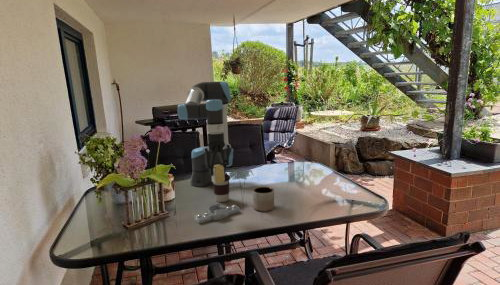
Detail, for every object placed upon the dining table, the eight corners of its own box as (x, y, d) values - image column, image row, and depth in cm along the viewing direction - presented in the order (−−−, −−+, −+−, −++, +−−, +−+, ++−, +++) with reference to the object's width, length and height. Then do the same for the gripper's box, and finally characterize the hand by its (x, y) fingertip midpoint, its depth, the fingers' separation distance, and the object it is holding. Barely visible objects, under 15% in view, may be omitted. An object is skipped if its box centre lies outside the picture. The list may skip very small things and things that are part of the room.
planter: (259, 213, 156) (259, 195, 154) (249, 206, 165) (249, 188, 163) (278, 209, 161) (278, 190, 159) (267, 202, 170) (267, 185, 168)
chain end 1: (193, 218, 152) (192, 210, 151) (214, 213, 158) (213, 204, 157) (200, 224, 145) (199, 215, 144) (221, 218, 151) (221, 209, 150)
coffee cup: (233, 197, 179) (232, 171, 176) (226, 204, 169) (225, 177, 167) (217, 196, 182) (216, 170, 179) (210, 202, 173) (208, 175, 170)
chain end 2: (214, 213, 158) (213, 204, 157) (233, 208, 163) (232, 199, 163) (221, 218, 151) (221, 209, 150) (241, 213, 157) (240, 204, 156)
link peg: (212, 181, 153) (211, 165, 152) (220, 180, 155) (219, 164, 154) (216, 183, 150) (215, 166, 148) (224, 181, 152) (223, 165, 151)
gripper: (202, 135, 141) (205, 186, 145) (235, 131, 150) (237, 179, 154) (195, 134, 147) (198, 182, 151) (227, 130, 156) (229, 176, 160)
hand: (218, 180), depth 152 cm, fingers closed on link peg, 4 cm apart
